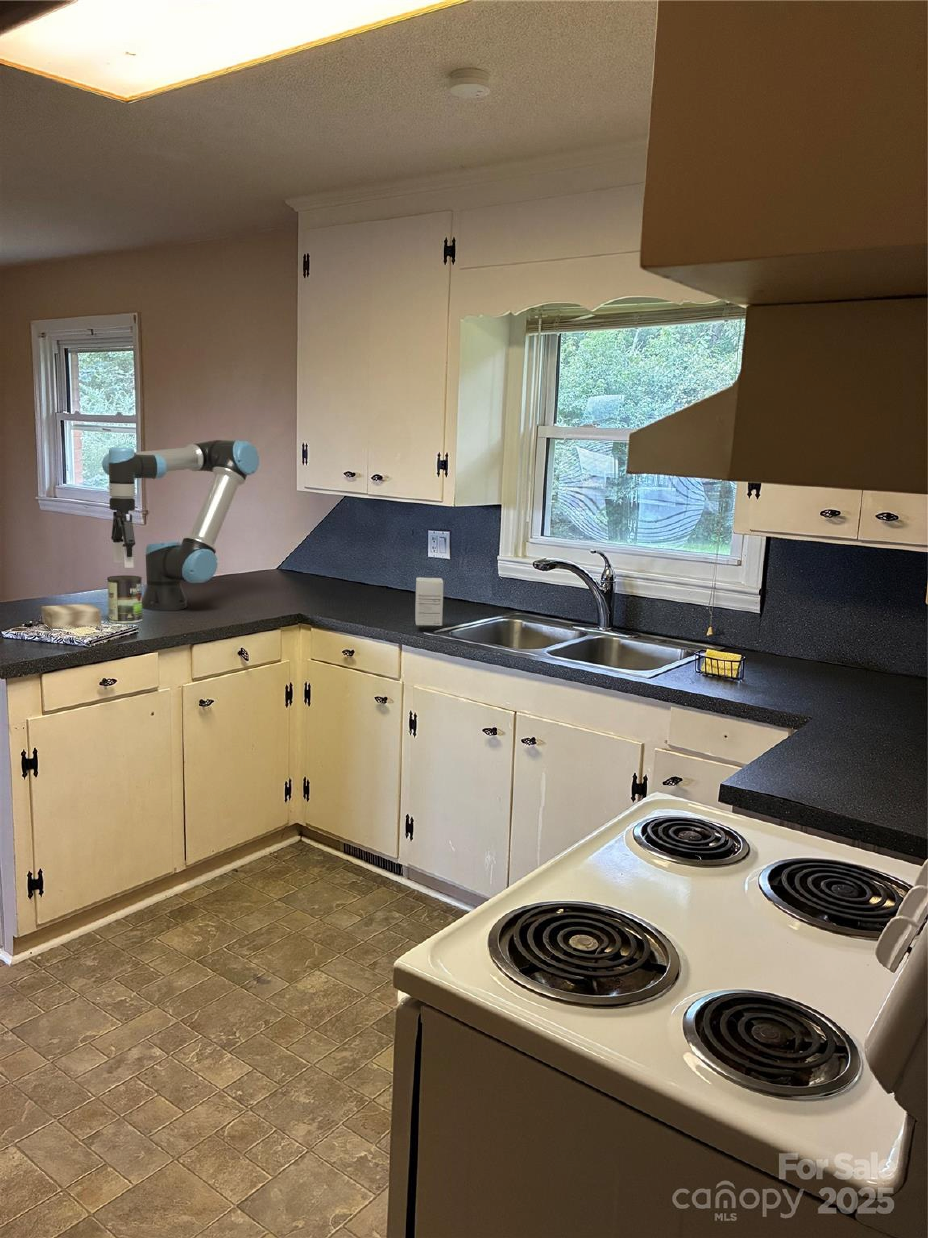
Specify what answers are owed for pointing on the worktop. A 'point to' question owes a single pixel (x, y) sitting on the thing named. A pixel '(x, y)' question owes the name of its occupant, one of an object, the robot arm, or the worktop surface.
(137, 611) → the coffee can
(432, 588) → the supplement box
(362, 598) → the worktop surface
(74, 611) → the birch block
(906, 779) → the worktop surface
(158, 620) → the worktop surface
